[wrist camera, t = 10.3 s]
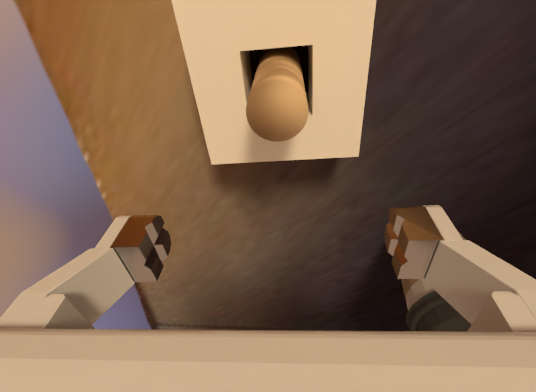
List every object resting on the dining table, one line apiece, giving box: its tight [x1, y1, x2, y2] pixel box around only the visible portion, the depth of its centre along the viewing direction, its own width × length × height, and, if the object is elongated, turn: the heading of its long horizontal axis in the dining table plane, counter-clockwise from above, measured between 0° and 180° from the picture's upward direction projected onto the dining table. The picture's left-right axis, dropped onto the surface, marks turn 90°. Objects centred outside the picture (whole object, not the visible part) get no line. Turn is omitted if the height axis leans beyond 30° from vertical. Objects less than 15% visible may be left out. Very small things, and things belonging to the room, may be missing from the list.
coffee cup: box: [401, 232, 472, 332], centre depth 34 cm, size 11×11×15 cm
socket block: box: [172, 0, 376, 165], centre depth 26 cm, size 14×14×6 cm
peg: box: [246, 47, 308, 142], centre depth 23 cm, size 4×4×12 cm
